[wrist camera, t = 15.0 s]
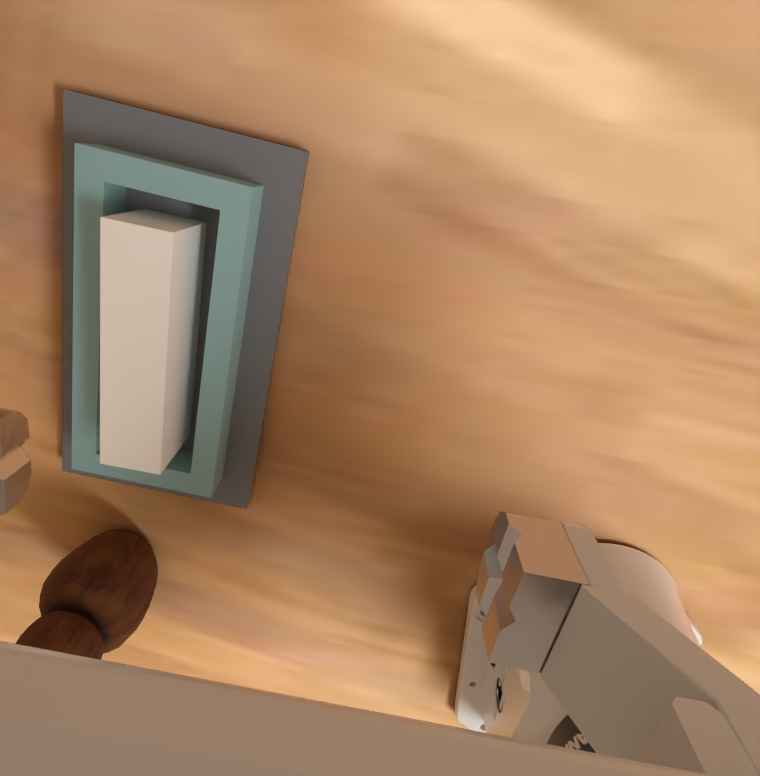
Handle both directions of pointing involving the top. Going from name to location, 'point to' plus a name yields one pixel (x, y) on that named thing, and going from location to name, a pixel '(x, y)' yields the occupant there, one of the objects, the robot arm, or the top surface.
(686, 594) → the top surface
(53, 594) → the wooden figurine
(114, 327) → the long cream plank
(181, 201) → the cradle jig
